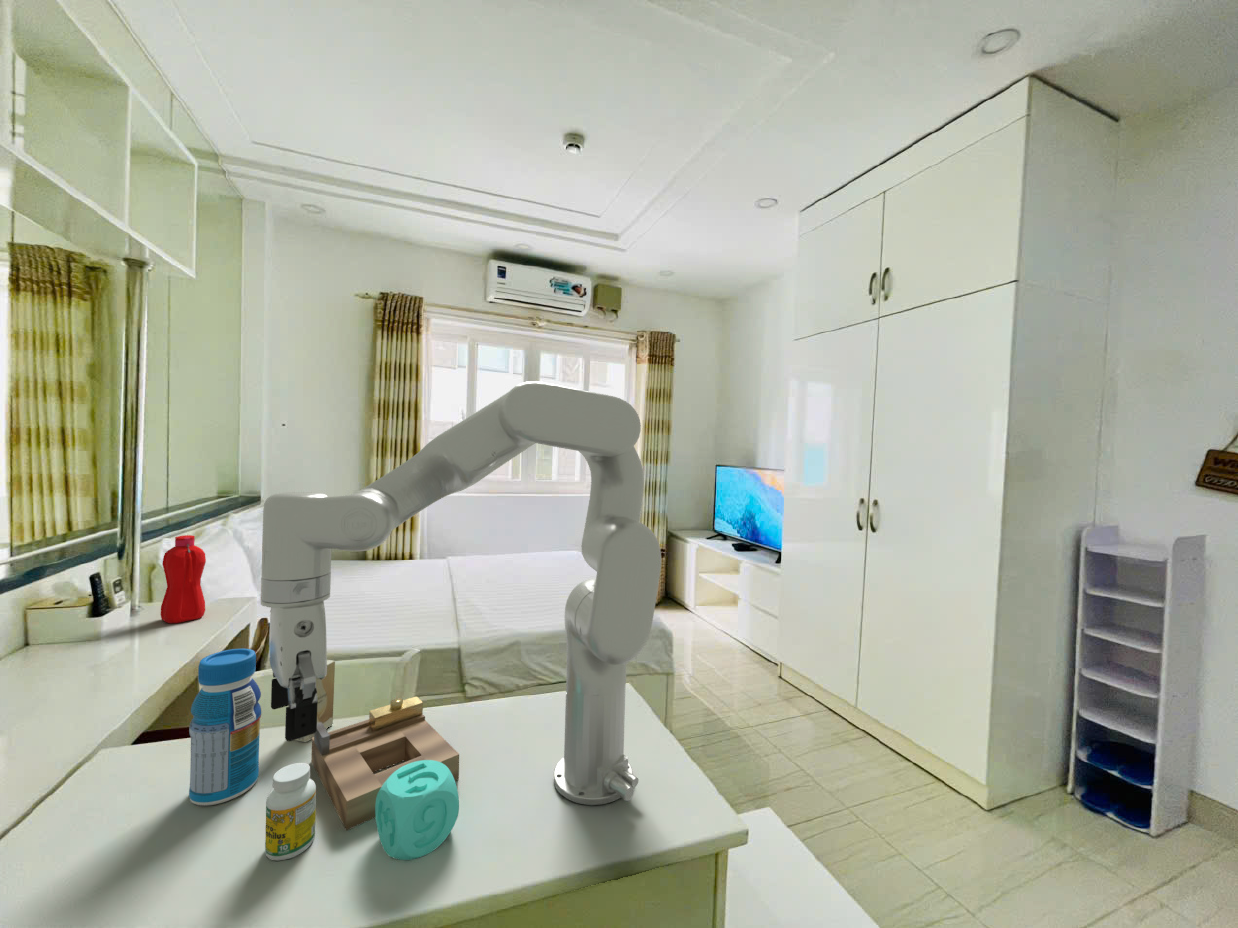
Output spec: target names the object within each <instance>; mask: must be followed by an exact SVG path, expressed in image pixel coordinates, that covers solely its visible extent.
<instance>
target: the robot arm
mask: <svg viewBox="0 0 1238 928" xmlns="http://www.w3.org/2000/svg"><path fill="white" fill-rule="evenodd" d="M641 424H642V423H641V420H640V416H639V414H638V412H637V411H636V409H635V408H634V407H633V405H631V404H630V403H629V402H627V401H626V400H625V399H622V398H620V397H618V396H613V395H608V394H604V393H599V392H598V393H597V392H593V391H587V390H583V389H578V388H573V387H568V386H563V385H559V384H556V383H555V384H554V383H548V382H543V381H537V380H535V381H532V380H531V381H525V382H521V383H519V384H517V385H515V386H514V387H513V388H511V389H510V390H509V391H508V392H506V393H504V394H503V395H501V396H500V397H498V398H497V399H496V400H493V401H491V403H489V404H488V405H485V406H484V407H482V408H481V409H479V410H478V411H476V412H474V413H472V414H471V415H469V416H468V417H466V418H465V419H463V420H462V421H460V422H458V423H456V424H454V425H453V426H452V427H450V428H448V429H447V430H445V431H443V432H442V433H440V434H439V435H437V436H435V437H434V438H432V440H430V441H429V442H428V443H426V445H425V446H424V447H423V448H422V449H420V451H418V452H417V453H416V454H415V455H413V456H412V457H411V458H409V459H407V460H406V461H405V462H403V463H402V464H400V465H399V466H397V467H395V468H393V469H392V470H391V471H389V472H388V473H386V474H385V475H382V476H381V477H380V478H378V479H377V480H374V481H373V482H371V483H369V484H368V485H366V486H364V487H363V488H362V489H360V490H358V491H356V492H353V493H351V494H347V495H346V494H345V495H336V496H335V495H334V496H328V495H327V494H325V493H320V492H312V491H311V492H304V491H303V492H302V491H301V492H300V491H298V492H295V491H294V492H293V491H292V492H279V493H275V494H271V495H269V496H268V497H267V499H266V500H265V501H264V504H263V510H262V541H261V545H262V546H261V575H260V576H261V579H260V605H261V606H262V607H266V608H270V610H269V613H270V615H269V617H270V618H269V637H268V638H269V640H268V641H269V644H268V645H269V646H268V647H269V649H268V650H269V663H270V664H269V665H270V668H271V671H272V677H273V678H272V679H271V690H270V691H271V694H270V695H271V698H270V707H271V709H272V710H277V709H281V708H285V722H284V723H285V727H284V739H285V741H286V742H291V741H296V740H295V739H298V738H301V737H305V736H308V735H311V734H314V733H315V732H316V731H317V704H318V700H317V690H316V689H317V688H316V678H317V679H324V678H325V677H326V675H327V660H328V659H327V658H328V655H327V653H328V651H327V649H328V647H327V642H328V641H327V620H326V609H325V602H324V601H326V600H329V598H330V597H331V583H332V581H331V580H332V550H337V551H338V550H339V551H347V552H366V551H370V550H373V549H376V548H378V547H380V546H381V545H382V544H384V543H385V541H387V539H389V537H390V535H391V534H392V532H393V530H395V529H396V528H398V527H399V526H401V525H402V524H403V523H405V522H406V521H408V520H409V519H411V518H412V517H414V516H415V515H417V514H419V512H421V511H423V510H424V509H426V508H427V507H429V506H431V505H433V504H434V503H435V502H438V501H439V500H442V499H443V498H445V497H447V496H450V495H453V494H455V493H460V492H462V491H464V490H466V489H468V488H470V487H472V486H474V485H475V484H477V483H478V482H480V481H481V480H483V479H484V478H486V477H487V476H489V475H490V474H492V473H493V472H495V471H496V470H497V469H499V468H501V467H502V466H503V465H505V464H506V463H507V462H509V461H511V460H513V458H516V457H517V456H518V455H520V454H522V453H524V451H526V450H527V449H529V448H530V447H532V446H533V445H535V444H539V445H543V446H544V445H545V446H550V447H554V448H559V449H564V450H565V449H566V450H570V451H578V452H579V453H580V454H581V455H582V456H583V458H584V459H585V461H586V463H587V465H588V467H589V470H590V489H589V491H590V492H589V500H588V506H587V513H586V517H585V523H584V530H583V534H582V539H581V554H582V557H583V559H584V561H585V562H586V563H587V565H588V566H589V567H590V568H591V569H593V570H594V571H595V572H596V577H595V578H590V579H589V578H588V579H585V580H583V581H581V582H579V584H577V585H576V586H575V587H574V588H573V589H572V590H571V592H570V593H569V595H568V597H567V600H566V603H565V608H564V630H565V631H564V632H565V642H566V643H565V645H566V680H565V681H566V682H565V709H564V711H565V713H564V714H565V715H564V716H565V717H564V749H563V753H564V754H563V757H562V758H561V759H560V760H559V761H558V762H557V763H556V765H555V768H554V771H553V784H554V787H555V788H556V791H557V792H558V793H559V794H560V795H561V796H563V797H564V798H566V799H567V800H569V801H571V802H573V803H577V804H580V805H586V806H599V805H606V804H609V803H612V802H615V801H617V800H619V799H623V800H624V801H627V802H628V801H630V800H631V799H632V797H633V796H634V791H635V790H634V788H635V787H636V786H638V785H639V784H638V783H639V777H637V776H636V775H634V772H633V767H632V766H631V764H630V762H629V757H628V756H626V755H625V754H624V750H625V749H624V747H625V720H626V719H625V713H626V712H625V711H626V687H627V686H626V685H627V684H626V683H627V664H628V663H630V662H631V661H634V659H636V658H637V657H638V656H639V655H640V654H641V653H642V651H643V650H644V648H645V646H646V645H647V642H648V640H649V637H650V634H651V631H652V626H653V621H654V620H653V619H654V614H655V608H656V602H657V597H658V591H659V583H660V578H661V572H662V571H661V569H662V553H661V551H662V550H661V547H660V543H659V541H658V540H659V539H658V538H657V536H656V534H654V531H652V529H650V528H649V527H648V526H647V525H646V524H644V523H642V522H641V521H640V520H641V514H642V513H641V511H642V504H643V496H644V495H643V494H644V486H645V485H644V483H645V482H644V481H645V480H644V479H645V478H644V470H643V469H644V468H643V464H642V462H641V458H640V456H639V454H638V451H637V450H636V448H635V445H636V444H637V443H638V440H639V438H640V435H641V431H642V430H641V428H642V427H641V426H642V425H641ZM300 678H301V679H300ZM300 686H301V689H300ZM288 706H289V707H288Z"/></svg>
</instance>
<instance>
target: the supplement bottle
mask: <svg viewBox="0 0 1238 928" xmlns="http://www.w3.org/2000/svg"><path fill="white" fill-rule="evenodd" d="M271 784H272V787H271V788H273V789H272V790H270V792H269V793H268V795H267V797H266V801H265V840H264V841H265V845H264V847H265V848H264V849H265V856H266V858H268V859H269V860H272V861H279V862H280V861H285V860H290V859H292V858H294V857H297V856H299V855H300V854H302V853H304V852H305V851H306V850H307V849H308V848H309V847H310V846H311V845H312V844H313V842H314V840H315V837H316V813H317V812H316V807H317V805H316V804H317V803H316V802H317V785H316V782H315V781H314V780H313V779H312V778H311V766H310V765H309V764H308V763H305V762H296V763H291V764H288V765H285V766H283V767H281V768H280V769H279V770H277V771H276V772H275V773H274V774H273V777H272V783H271Z"/></svg>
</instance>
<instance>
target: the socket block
mask: <svg viewBox="0 0 1238 928" xmlns="http://www.w3.org/2000/svg"><path fill="white" fill-rule="evenodd" d="M310 759H311V761H310V762H311V764H312V765H313V768H314V770H315V772H316V774H317V776H318V778H319V779H320V781H321V784H322V786H323V788H324V789H325V791H326V793H327V795H328V798H329V799H330V801H331V803H332V806H333V807H334V809H335V811H336V813H337V815H338V817H339V819H340V822H341V823H342V825H343V826H344V829H345V831H348V830H351V829H353V828H355V827H357V826H360V825H362V824H364V823H366V822H368V821H371V820H372V819H376V816H375V804H376V797H377V794H378V792H379V790H380V789H381V787H382V785H383V784H384V783H385V781H386V780H387V779H388V778H389V777H390V776H391V775H392V774H393V773H394V772H395V771H396V770H397V769H399V768H401V767H402V766H404V765H407V764H409V763H412V762H416V761H421V760H434V761H438V762H441V763H443V764H444V765H446V766H447V767H448V768H449V770H450V771H451V773H452V775H453V777H454V780H455V782H456V781H459V778H460V776H459V775H460V753H459V752H458V751H457V750H456V749H455V748H454V747H453V746H452V745H451V744H450V743H449V742H448V741H447V740H446V739H445V738H444V737H443V736H442V735H441V734H440V733H439V732H438V731H437V730H436V729H435V728H434V727H433V726H432V725H431V724H430V723H429V722H428V721H427V720H426V716H425V714H423V715H421V716H418V717H415V718H412V719H409V720H406V721H403V722H401V723H398V724H395V725H392V726H389V727H386V728H383V729H380V730H377V731H373V730H372V728H371V727H370V726H369V718H367V719H365V720H363V721H359V722H356V723H353V724H350V725H347V726H343V727H341V728H338V729H335V730H332V731H329V732H328V729H325V727H324V725H323V724H322V722H320V723H317V731H316V732H315V733H314V737H312V739H311V758H310ZM403 760H404V761H403ZM398 762H399V764H398ZM400 762H402V763H400ZM393 765H394V766H393ZM390 766H391V767H390ZM388 767H389V768H388ZM383 769H384V770H383ZM380 770H382V771H380ZM378 771H380V772H378Z"/></svg>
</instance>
